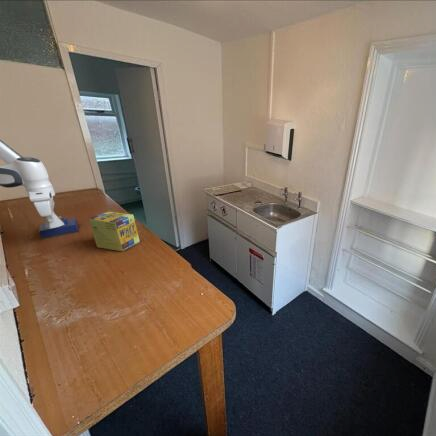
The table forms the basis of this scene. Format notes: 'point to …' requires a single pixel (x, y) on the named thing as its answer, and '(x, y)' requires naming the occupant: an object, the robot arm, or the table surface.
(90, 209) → the table surface
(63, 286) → the table surface
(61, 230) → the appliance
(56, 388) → the table surface
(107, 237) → the protein box
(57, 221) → the flask
